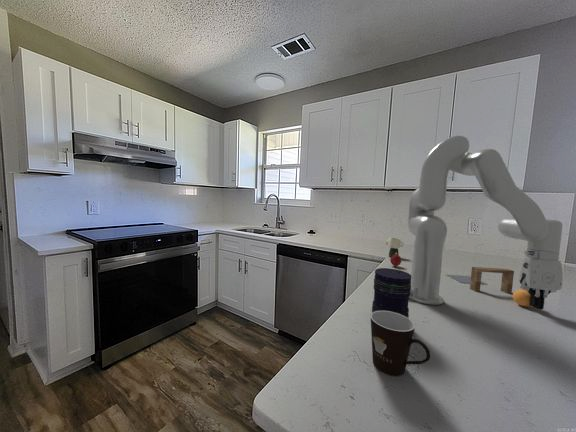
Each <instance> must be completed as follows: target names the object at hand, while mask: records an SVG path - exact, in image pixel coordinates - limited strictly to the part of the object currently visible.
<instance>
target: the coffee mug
mask: <svg viewBox="0 0 576 432" xmlns="http://www.w3.org/2000/svg"><path fill="white" fill-rule="evenodd" d="M370 328H371V329H370V331H371V351H372V353H371V354H372V364H373V366H374V367H375V368H376V369H377V370H378V371H380V372H381V373H383V374H385V375H387V376H391V377H401V376H402V375H404V374H405V372H406V368H407V365H423V364H425V363H427V362H428V361H430V360H431V359H430V358H431V352H430V349H429V347H428V346H427V345H426V344H425V343H424V342H423V341H422V340H421V339H418V338H417V339H416V338H413V337H414V332H415V330H416V329H415V328H416V324H415V323H414V321H413V320H411V319H410V318H407V317H405V316H403V315H401V314H398V313H395V312H390V311H375V312H373V313H372V312H371V313H370ZM414 343H416V344H419V345H420V346H421V347H422V348H423V349H424V351H425V353H426V357H425V358H424V359H423V360H409V355H410V350H411V346H412V345H413V344H414Z"/></svg>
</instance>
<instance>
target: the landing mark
mask: <svg viewBox="0 0 576 432" xmlns="http://www.w3.org/2000/svg"><path fill="white" fill-rule="evenodd" d="M446 275H447V277H448V276H449V277H448V278H450V277H451V279H452V278H453V280H454V279H455V281H457V282H458V283H461V284H470V281H471V275H461V274H460V275H459V274H446ZM481 285H487V283H486V282H484V281H482V280H481Z"/></svg>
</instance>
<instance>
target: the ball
mask: <svg viewBox="0 0 576 432" xmlns="http://www.w3.org/2000/svg"><path fill="white" fill-rule="evenodd" d="M512 293H513V294H512V299H513V301H514V303H516V304H517V305H519V306H521V307H527V308H529V307H531V306H530V294H529V293H528V291H526V290H523V289H521V288H520V289H517V290H515V291H514V292H512Z"/></svg>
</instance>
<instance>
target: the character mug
mask: <svg viewBox="0 0 576 432" xmlns="http://www.w3.org/2000/svg"><path fill="white" fill-rule="evenodd" d="M385 245H388V247H389V248H390V249H389V251H388V256H389V257H390V258H391V257H392V256H393V255H395V253H397V254H398V255H399V249H400V248H403V247H404V242H403V241H401V238H399V237H388V239H386V240H385ZM399 256H400V255H399Z"/></svg>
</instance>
